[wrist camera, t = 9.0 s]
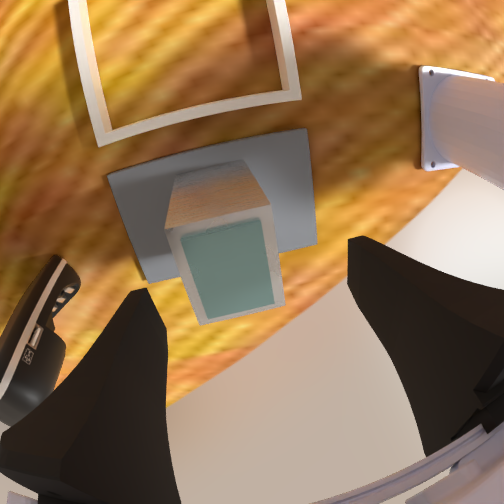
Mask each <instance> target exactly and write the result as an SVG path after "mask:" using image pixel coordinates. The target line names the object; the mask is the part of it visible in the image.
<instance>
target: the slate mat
mask: <svg viewBox="0 0 504 504" xmlns="http://www.w3.org/2000/svg"><path fill="white" fill-rule="evenodd" d="M239 160H244V161H245V163H246V164H247V166H248V167H249V169H250V171H251V172H252V174H253V176H254V177H255V179H256V180H257V182H258V184H259V185H260V187H261V188H262V190H263V192H264V193H265V195H266V197H267V198H268V200H269V202H270V203H271V206H272V213H273V220H274V226H275V233H276V240H277V247H278V253H282V252H287V251H291V250H295V249H299V248H303V247H308V246H312V245H316V244H317V231H316V216H315V203H314V191H313V180H312V170H311V160H310V151H309V142H308V133H307V129H306V128H299V129H293V130H286V131H280V132H274V133H268V134H262V135H257V136H252V137H246V138H241V139H236V140H232V141H227V142H222V143H218V144H213V145H209V146H205V147H200V148H196V149H192V150H188V151H184V152H180V153H176V154H173V155H169V156H165V157H162V158H158V159H155V160H151V161H148V162H144V163H141V164H138V165H134V166H131V167H128V168H125V169H122V170H119V171H115V172H112V173H109V174H108V175H107V178H108V181H109V184H110V187H111V190H112V192H113V195H114V198H115V201H116V204H117V207H118V209H119V212H120V215H121V217H122V220H123V223H124V225H125V228H126V231H127V233H128V236H129V238H130V241H131V243H132V246H133V248H134V251H135V253H136V255H137V258H138V260H139V263H140V265H141V267H142V270H143V272H144V274H145V277H146V279H147V281H148V283H149V284H150V283H155V282H159V281H163V280H168V279H172V278H176V277H181V276H180V273H179V270H178V268H177V265H176V262H175V259H174V257H173V254H172V251H171V248H170V245H169V242H168V239H167V237H166V234H165V231H164V228H165V223H166V218H167V213H168V208H169V203H170V198H171V194H172V189H173V185H174V180H175V176H176V175H179V174H183V173H187V172H191V171H195V170H199V169H203V168H208V167H212V166H216V165H221V164H225V163H230V162H234V161H239Z"/></svg>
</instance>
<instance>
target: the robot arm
mask: <svg viewBox="0 0 504 504" xmlns="http://www.w3.org/2000/svg"><path fill="white" fill-rule="evenodd" d="M429 71H430V72H431V75H430V74H429ZM419 82H420V96H421V121H422V155H421V167H422V169H424V170H425V171H433V170H441V169H448V168H455V167H462V168H464V169H466V170H468V171H470V172H472V173H474V174H475V175H477V176H479V177H481V178H483V179H485V180H487V181H489V182H490V183H492V184H494V185H496V186H498V187H499V188H501V189H503V190H504V83H500V82H495V80H494V78H492V77H488V76H484V75H479V74H475V73H470V72H464V71H459V70H453V69H446V68H439V67H432V66H420V68H419ZM432 162H433V163H432ZM431 163H432V165H431ZM347 279H348V280H347V284H348V287H349V289H350V291H351V293H352V295H353V297H354V299H355V301H356V303H357V305H358V307H359V309H360V310H361V312H362V313H363V315H364V316H365V318H366V320H367V321H368V322H369V324H370V326H371V327H372V329H373V330H374V332H375V333H376V335H377V337H378V338H379V340H380V341H381V343H382V344H383V346H384V347H385V349H386V351H387V353H388V354H389V356H390V358H391V360H392V362H393V364H394V366H395V368H396V371H397V373H398V375H399V377H400V380H401V382H402V384H403V387H404V389H405V392H406V394H407V397H408V399H409V402H410V405H411V408H412V411H413V414H414V417H415V420H416V423H417V426H418V430H419V434H420V437H421V441H422V445H423V450H424V453H425V455H426V458H424V459H422V460H421V461H419V462H417V463H415V464H413V465H411V466H409V467H407V468H405V469H403V470H400V471H398V472H396V473H394V474H392V475H390V476H387V477H385V478H383V479H380V480H378V481H375V482H373V483H371V484H368V485H366V486H363V487H360V488H358V489H355V490H352V491H349V492H346V493H344V494H340V495H337V496H334V497H331V498H328V499H325V500H321V501H318V502H314V503H310V504H379V503H381V502H384V501H386V500H388V499H391V498H393V497H395V496H397V495H399V494H401V493H404V492H406V491H408V490H410V489H412V488H414V487H416V486H418V485H420V484H421V483H423V482H425V481H427V480H429V479H431V478H432V477H434V476H436V475H438V474H439V473H441V472H443V471H445V470H446V469H448V468H449V467H451V466H452V467H451V469H450V473H449V475H448V476H446V477H445V478H443V479H441V480H440V481H438V482H436V483H435V484H433V485H431V486H429V487H428V488H426V489H424V490H423V491H421V492H420V493H418V494H416V495H415V496H413V497H411V498H409V499H407V500H406V502H405V503H406V504H504V290H502V289H496V288H492V287H488V286H484V285H481V284H477V283H473V282H470V281H467V280H464V279H461V278H458V277H455V276H452V275H449V274H446V273H444V272H442V271H438V270H437V269H434V268H432V267H430V266H427V265H425V264H422V263H420V262H418V261H416V260H414V259H412V258H410V257H408V256H406V255H404V254H402V253H400V252H397V251H396V250H393V249H392V248H390V247H388V246H385V245H383V244H381V243H379V242H377V241H375V240H373V239H371V238H368V237H366V236H359V237H355V238H351V239H348V278H347ZM167 364H168V344H167V330H166V327H165V325H164V323H163V321H162V319H161V317H160V315H159V313H158V311H157V309H156V307H155V305H154V303H153V301H152V298H151V296H150V294H149V292H148V290H147V288H142V289H138V290H134V291H131V292H130V293H129V294H128V295H127V297H126V298H125V299H124V301H123V302H122V304H121V305H120V307H119V308H118V310H117V311H116V312H115V314H114V315H113V317H112V318H111V320H110V321H109V323H108V324H107V326H106V327H105V329H104V330H103V332H102V333H101V334H100V336H99V337H98V338H97V340H96V341H95V342H94V344H93V345H92V347H91V348H90V349H89V351H88V352H87V354H86V355H85V356H84V357H83V359H82V360H81V361H80V362H79V364H78V365H77V366H76V367H75V368H74V370H73V371H72V372H71V373H70V374H69V375H68V376H67V378H66V379H65V380H64V381H63V382H62V383H61V384H60V385H59V386H58V387H57V388H56V389H55V390H54V391H53V392H52V393H51V394H50V395H49V396H48V397H47V398H46V399H45V400H44V401H43V402H42V403H40V404H39V405H38V406H37V407H36V408H35V409H34V410H32V411H31V412H30V413H29V414H28V415H26V416H25V417H24V418H23V419H21V420H20V421H18V422H17V423H16V424H14V425H13V426H11V427H10V428H9V429H8V430H6V431H4V432H3V433H2V436H1V440H0V472H1V473H2V474H3V475H5V476H6V477H8V478H10V479H11V480H13V481H15V482H17V483H18V484H20V485H22V486H24V487H26V488H28V489H30V490H32V491H34V492H36V493H38V501H37V500H35V499H32V498H29V497H26V496H23V495H20V494H17V493H14V492H11V491H9V492H8V497H7V504H181V500H180V497H179V493H178V489H177V485H176V481H175V476H174V471H173V466H172V462H171V455H170V449H169V441H168V433H167V424H166V384H167Z"/></svg>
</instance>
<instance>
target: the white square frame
mask: <svg viewBox="0 0 504 504" xmlns="http://www.w3.org/2000/svg"><path fill="white" fill-rule="evenodd" d="M266 3H267V8H268V13H269V18H270V23H271V28H272V33H273V38H274V44H275V49H276V55H277V61H278V66H279V72H280V78H281V84H282V90H279V91H271V92H264V93H258V94H252V95H246V96H240V97H234V98H229V99H224V100H219V101H214V102H210V103H205V104H201V105H196V106H192V107H188V108H184V109H180V110H176V111H172V112H169V113H165V114H161V115H158V116H154V117H151V118H148V119H144V120H141V121H138V122H135V123H131V124H128V125H125V126H122V127H119V128H117V129H114V130H112V126H111V122H110V118H109V114H108V110H107V106H106V102H105V98H104V94H103V90H102V85H101V81H100V76H99V72H98V67H97V62H96V57H95V52H94V47H93V41H92V35H91V29H90V23H89V16H88V9H87V2H86V0H68V4H69V13H70V20H71V27H72V34H73V40H74V46H75V52H76V57H77V62H78V67H79V72H80V77H81V82H82V86H83V91H84V95H85V99H86V103H87V107H88V111H89V115H90V119H91V123H92V126H93V130H94V134H95V137H96V141H97V144H98V147H101V146H104V145H107V144H110V143H113V142H116V141H119V140H122V139H125V138H128V137H131V136H134V135H137V134H140V133H143V132H147V131H150V130H154V129H157V128H161V127H164V126H168V125H171V124H175V123H179V122H183V121H187V120H191V119H195V118H199V117H204V116H208V115H213V114H217V113H222V112H227V111H232V110H237V109H243V108H248V107H254V106H260V105H266V104H273V103H280V102H287V101H295V100H302V96H301V89H300V82H299V76H298V70H297V63H296V57H295V52H294V46H293V40H292V35H291V29H290V24H289V19H288V14H287V9H286V4H285V0H266Z"/></svg>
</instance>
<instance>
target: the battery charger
mask: <svg viewBox="0 0 504 504" xmlns="http://www.w3.org/2000/svg"><path fill="white" fill-rule="evenodd" d="M80 285H81V281H80V278H79V276H78V275H77V273H76V272H75V271H74V270H73V268H72V267H70V266H69V265H68V264H67V261H66V260H65V259H63V258H61V257H59V256H58V255H54V256H53V257H52V258H51V259H50V260H49V261H48V263H47V264H46V265H45V267H44V268H43V269H42V270H41V272H40V273H39V274H38V276H37V277H36V278H35V280H34V281H33V282H32V284H31V285H30V286H29V288H28V289H27V291H26V292H25V293H24V295H23V296H22V298H21V299H20V301H19V303H18V305H17V306H16V308H15V310H14V312H13V314H12V316H11V317H10V319H9V321H8V323H7V325H6V327H5V329H4V331H3V333H2V335H1V337H0V421H1V422H3V423H4V424H6V425H8V426H13V425H14V424H16V423H17V422H18V421H20V420H21V419H23V418H24V417H25V416H26V415H28V414H29V413H30V412H31V411H32V410H34V409H35V408H36V407H37V406H38V405H39V404H40V403H42V402H43V401H44V400H45V399H46V398H47V397H48V396H49V395H50V394H51V393H52V392H53V390H54V387H55V384H56V381H57V379H58V376H59V373H60V370H61V367H62V364H63V360H64V357H65V350H66V344H65V342H64V341H63V340H62V339H61V338H60V337H59V336H58V335H57V334H56V333H54V330H55V326H54V323H53V317H54V316H55V315H56V314H57V313H58V312H59V311H60V310H61V309H62V308H63V307H64V306H65V305H66V304H67V303H68V302H69V300H70V299H71V298H72V297H73V296H74V295H75V294H76V293H77V292H78V290H79V288H80Z"/></svg>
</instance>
